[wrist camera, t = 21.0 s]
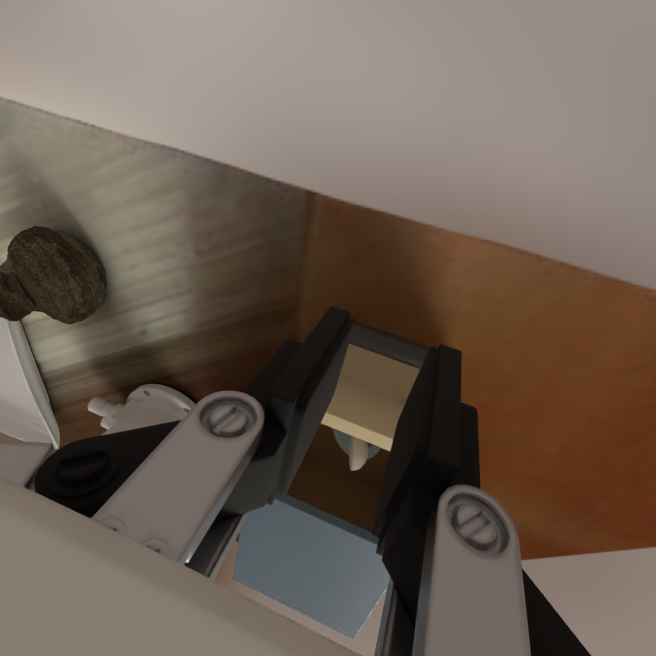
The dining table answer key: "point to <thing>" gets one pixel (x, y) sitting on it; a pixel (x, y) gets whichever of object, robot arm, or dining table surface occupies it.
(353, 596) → the cabinet
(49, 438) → the square plate
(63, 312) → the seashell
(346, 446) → the pacifier
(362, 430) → the drawer
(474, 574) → the robot arm
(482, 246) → the dining table surface
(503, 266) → the dining table surface
